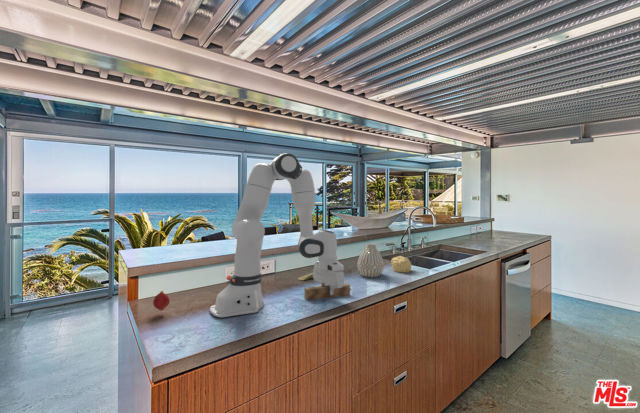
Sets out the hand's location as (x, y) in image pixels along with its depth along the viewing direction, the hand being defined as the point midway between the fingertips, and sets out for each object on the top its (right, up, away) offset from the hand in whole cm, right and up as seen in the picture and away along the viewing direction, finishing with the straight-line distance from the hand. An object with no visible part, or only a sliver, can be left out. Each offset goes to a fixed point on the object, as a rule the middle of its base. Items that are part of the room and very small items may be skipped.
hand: (327, 293), depth 139 cm
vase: (+27, -2, +39) cm, 48 cm away
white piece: (+3, -2, +13) cm, 14 cm away
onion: (-69, -2, -19) cm, 71 cm away
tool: (-3, -3, +34) cm, 34 cm away
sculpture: (+49, -2, +50) cm, 70 cm away
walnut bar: (0, -2, 0) cm, 2 cm away
